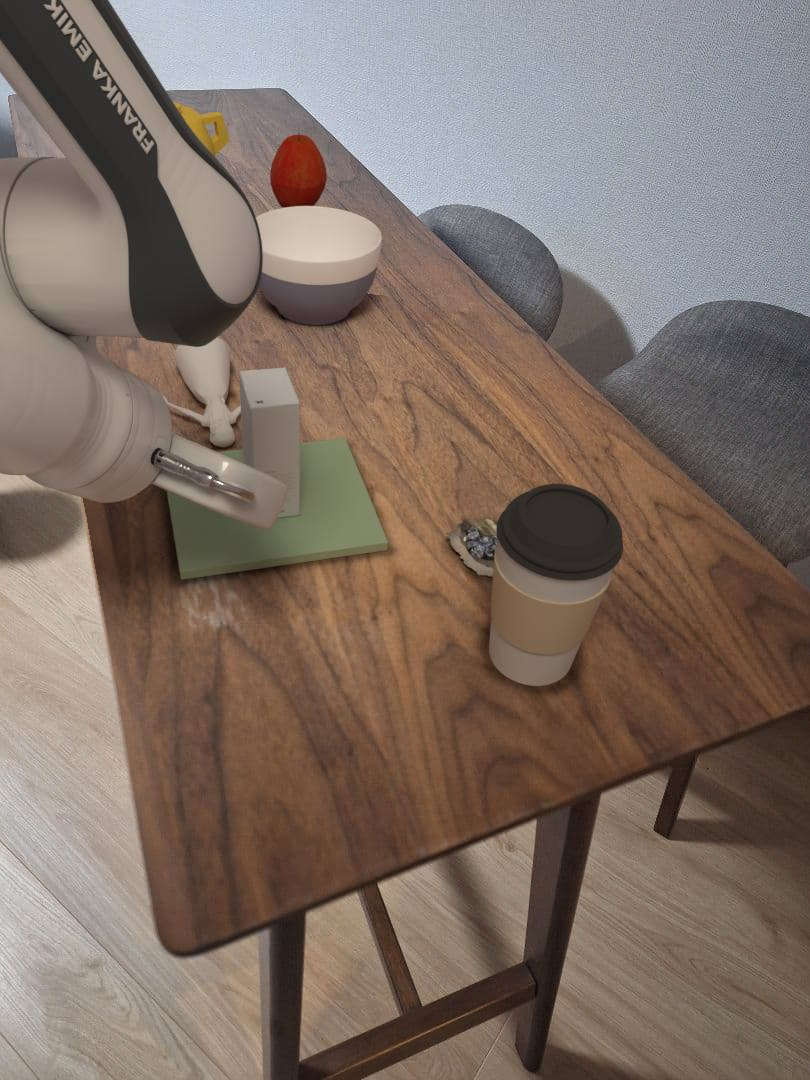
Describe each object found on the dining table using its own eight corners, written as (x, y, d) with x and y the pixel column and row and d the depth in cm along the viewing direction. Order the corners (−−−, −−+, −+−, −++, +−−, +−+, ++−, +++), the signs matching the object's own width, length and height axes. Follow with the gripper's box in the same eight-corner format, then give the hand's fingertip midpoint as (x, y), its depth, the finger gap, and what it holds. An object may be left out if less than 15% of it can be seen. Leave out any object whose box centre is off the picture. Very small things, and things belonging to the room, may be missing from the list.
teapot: (116, 176, 140) (106, 107, 133) (164, 149, 149) (158, 84, 143) (194, 194, 137) (188, 125, 130) (239, 166, 146) (235, 101, 140)
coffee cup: (458, 672, 71) (483, 527, 61) (495, 598, 77) (523, 455, 67) (570, 713, 69) (615, 569, 59) (598, 633, 75) (643, 492, 65)
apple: (323, 220, 133) (324, 145, 126) (267, 216, 133) (265, 139, 126) (328, 199, 139) (329, 125, 132) (274, 194, 139) (272, 120, 132)
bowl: (360, 349, 107) (364, 272, 100) (230, 326, 108) (225, 249, 102) (389, 289, 118) (394, 217, 112) (271, 269, 120) (270, 197, 114)
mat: (180, 580, 76) (179, 571, 76) (162, 466, 88) (161, 457, 87) (387, 550, 81) (388, 542, 80) (345, 445, 92) (345, 437, 92)
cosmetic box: (301, 516, 82) (301, 404, 74) (254, 522, 81) (248, 409, 73) (288, 475, 86) (286, 365, 78) (243, 481, 85) (236, 369, 77)
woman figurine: (250, 318, 101) (283, 418, 89) (251, 352, 104) (283, 453, 92) (142, 326, 98) (161, 431, 86) (146, 361, 101) (165, 467, 89)
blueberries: (476, 513, 86) (478, 498, 84) (547, 554, 82) (551, 538, 81) (432, 548, 82) (434, 532, 80) (505, 592, 78) (508, 576, 77)
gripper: (250, 440, 56) (330, 485, 69) (4, 340, 62) (120, 398, 76) (209, 535, 56) (298, 561, 69) (-33, 425, 62) (90, 468, 75)
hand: (203, 475), depth 72 cm, fingers open, 8 cm apart
